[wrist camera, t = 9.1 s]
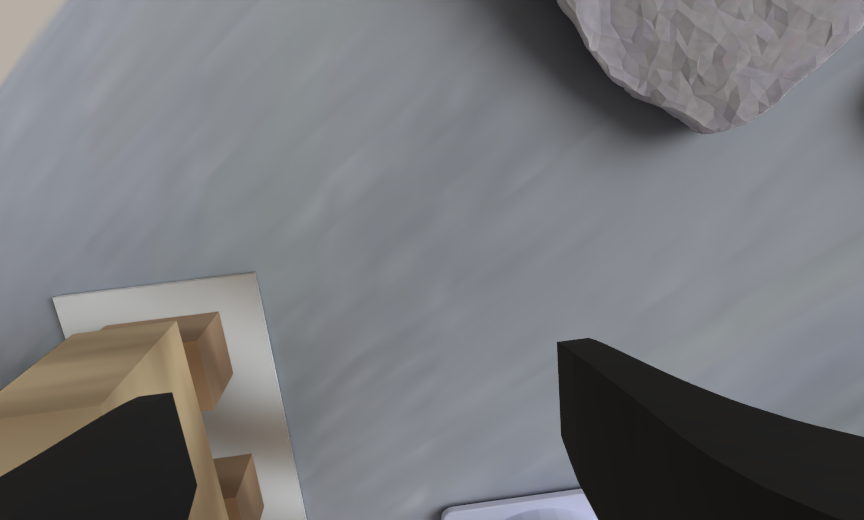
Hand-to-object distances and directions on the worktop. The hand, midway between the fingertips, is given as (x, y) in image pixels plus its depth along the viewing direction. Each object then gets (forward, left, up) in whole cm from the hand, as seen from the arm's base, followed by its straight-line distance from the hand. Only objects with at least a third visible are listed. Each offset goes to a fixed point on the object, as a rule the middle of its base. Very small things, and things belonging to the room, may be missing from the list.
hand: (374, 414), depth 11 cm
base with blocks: (-6, +8, -10) cm, 14 cm away
